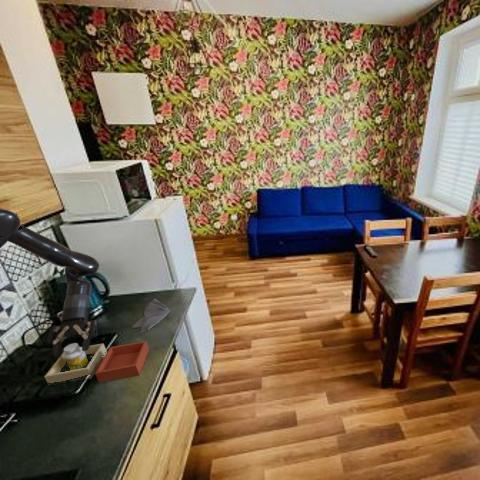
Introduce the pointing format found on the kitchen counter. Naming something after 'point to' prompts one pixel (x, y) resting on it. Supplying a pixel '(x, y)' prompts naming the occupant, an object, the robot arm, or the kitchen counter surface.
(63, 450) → the kitchen counter surface
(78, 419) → the kitchen counter surface
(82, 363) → the supplement bottle
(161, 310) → the cloth
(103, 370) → the terracotta bin
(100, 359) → the cream bin
